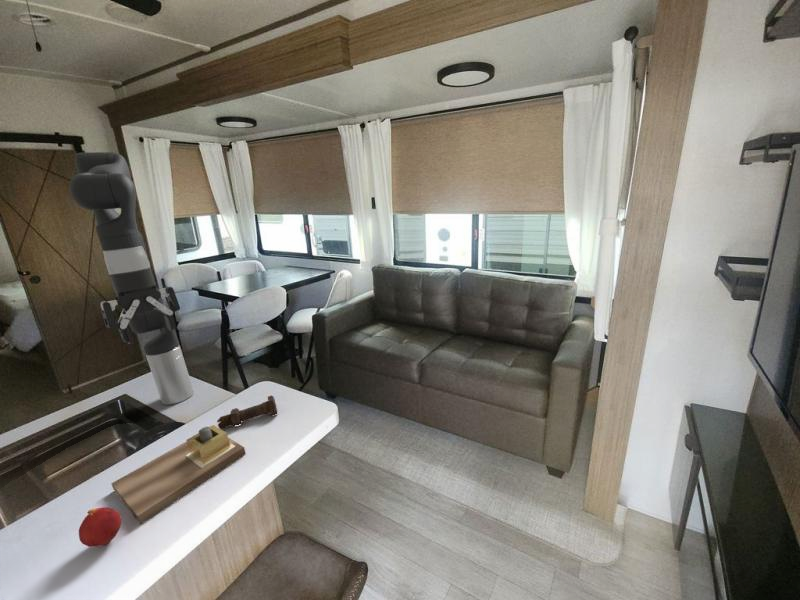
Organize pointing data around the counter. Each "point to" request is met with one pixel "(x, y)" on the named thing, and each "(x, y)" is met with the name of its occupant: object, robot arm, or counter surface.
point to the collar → (208, 445)
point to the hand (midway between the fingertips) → (151, 336)
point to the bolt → (248, 413)
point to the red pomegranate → (99, 526)
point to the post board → (171, 477)
